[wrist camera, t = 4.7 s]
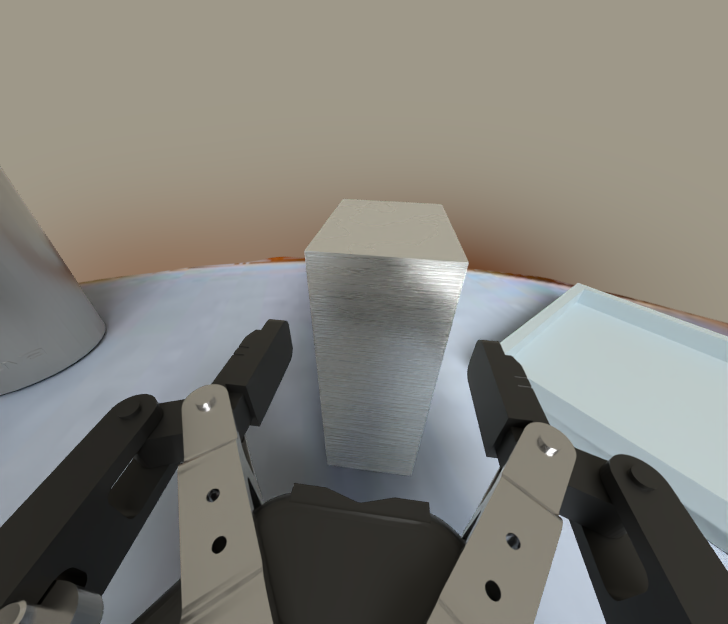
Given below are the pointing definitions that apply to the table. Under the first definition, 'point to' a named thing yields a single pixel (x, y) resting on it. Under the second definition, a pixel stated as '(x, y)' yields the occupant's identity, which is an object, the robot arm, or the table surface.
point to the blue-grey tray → (635, 392)
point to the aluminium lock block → (381, 326)
